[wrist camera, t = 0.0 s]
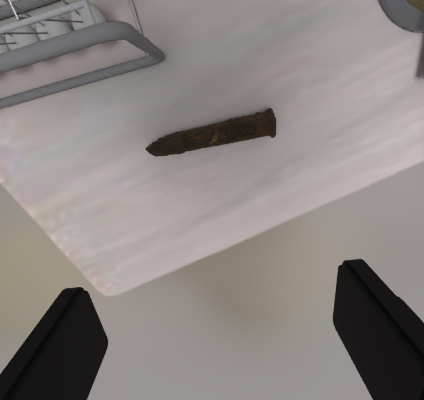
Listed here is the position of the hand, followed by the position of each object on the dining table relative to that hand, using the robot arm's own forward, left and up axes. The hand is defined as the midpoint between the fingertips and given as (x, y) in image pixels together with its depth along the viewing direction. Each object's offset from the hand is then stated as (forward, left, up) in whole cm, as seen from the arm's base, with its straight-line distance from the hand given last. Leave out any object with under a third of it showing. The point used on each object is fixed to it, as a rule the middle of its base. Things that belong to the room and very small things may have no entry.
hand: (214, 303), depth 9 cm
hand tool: (-1, 0, -32) cm, 32 cm away
